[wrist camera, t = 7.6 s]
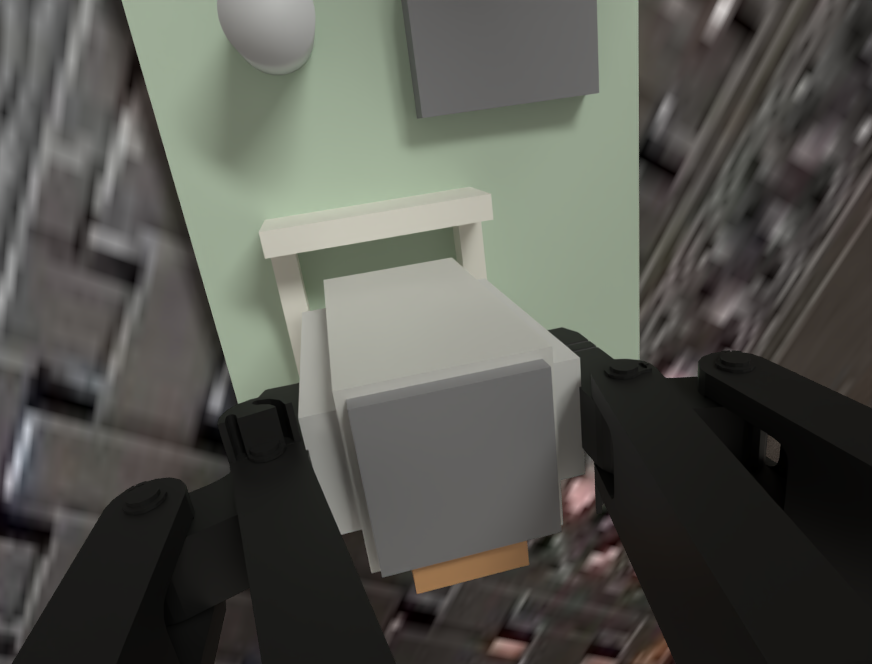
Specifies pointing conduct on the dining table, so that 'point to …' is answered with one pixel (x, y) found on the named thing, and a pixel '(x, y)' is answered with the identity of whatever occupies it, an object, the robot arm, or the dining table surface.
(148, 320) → the dining table surface
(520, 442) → the plug
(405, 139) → the board
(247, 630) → the dining table surface
